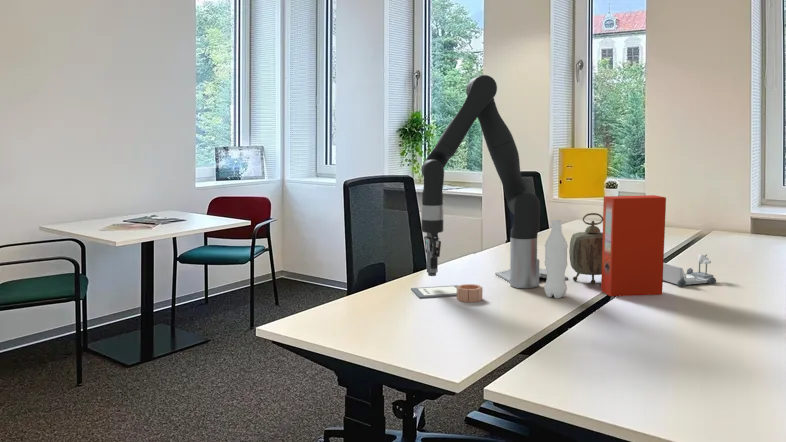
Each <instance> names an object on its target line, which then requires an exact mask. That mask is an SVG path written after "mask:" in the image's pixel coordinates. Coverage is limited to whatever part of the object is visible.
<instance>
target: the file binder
mask: <svg viewBox="0 0 786 442" xmlns="http://www.w3.org/2000/svg"><path fill="white" fill-rule="evenodd" d="M602 205H603V208H602V209H603V213H602V217H603V221H602V233H603V241H602V275H601V277H600V279H601V283H600V284H601V285H600V286H601V287H600V291H601V292H602V293H603V294H606V295H607V296H609V297H612V298H613V297H632V296H633V297H634V296H638V297H639V296H662V295H663V263H664V261H665V260H664V255H665V237H666V236H665V233H666V231H665V230H666V208H667V207H666V206H667V197H665V196H661V195H660V196H659V195H655V194H654V195H652V194H651V195H647V194H646V195H616V196H615V195H612V196H603V204H602Z"/></svg>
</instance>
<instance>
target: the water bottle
mask: <svg viewBox="0 0 786 442" xmlns="http://www.w3.org/2000/svg"><path fill="white" fill-rule="evenodd" d="M562 226H563V225H562V220H561V219H552V220H551V226H550V228H551V230H550V233H549V235H548V237H547V239H546V241H545V244H544V249H545V250H544V266H545V269H546V270H547V278H546V280H545V284H544V285H543V287H544V293H545V295H546V297H548V298H552V297H554V298H555V299H560V298H565V296H566V294H567V292H568V291H567V290H568V287H567V284H566V280H565V276H566V269H567V268H568V247H569V246H568V241H567V240H566V238H565V235H564V234H563V230H562V229H563V227H562Z"/></svg>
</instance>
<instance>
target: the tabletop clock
mask: <svg viewBox="0 0 786 442" xmlns="http://www.w3.org/2000/svg"><path fill="white" fill-rule="evenodd" d="M588 216H598V217H600V218H601V220H600V221H598V222H595V221H594V220H591V222H587V221H585V219H586V218H587V217H588ZM582 221H583V223H584V224H585V225H589V226H587V227H586V228H585V230H584V231H581V232H576V233H573V234H572V235H571V238H570V242H569V249H568V250H569V251H568V255H569V264H570V266H571V268H572V270H573V271H574V272H575V273H576V275H575V276H573V277H572V280H573V281H574V282H577V281H578V277H579V275H589V276H591V280H590V284H592V285H596V279H595V276H602V241H603V231H602V232H601V230H600V228H599V227H598V225H601V224H603V215H601V214H600V213H597V212H590V213H586V214H585V215H583V218H582Z"/></svg>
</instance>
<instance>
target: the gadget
mask: <svg viewBox="0 0 786 442" xmlns="http://www.w3.org/2000/svg"><path fill="white" fill-rule="evenodd" d="M495 275H496V276H495ZM494 276H495V277H497V276H498V277H497V278H499V277H500V278H502V279H504V280H505V281H504V280H503V281H504V282H506V281H507V282H506V283H508V282H509V283H508V284H510V268H509V269H506V270H502V271H499V272H495V273H494ZM500 278H499V279H500ZM539 278H543V279H547V270H546V268H545V269H544V268H541V267H539ZM502 279H501V280H502ZM568 280H569V277H568V276H566V275H565V281H568Z"/></svg>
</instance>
